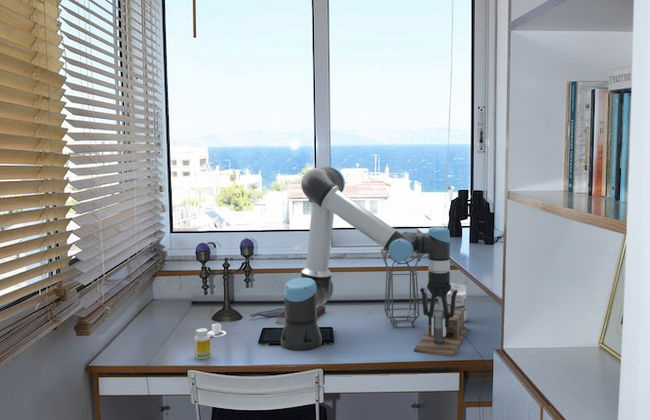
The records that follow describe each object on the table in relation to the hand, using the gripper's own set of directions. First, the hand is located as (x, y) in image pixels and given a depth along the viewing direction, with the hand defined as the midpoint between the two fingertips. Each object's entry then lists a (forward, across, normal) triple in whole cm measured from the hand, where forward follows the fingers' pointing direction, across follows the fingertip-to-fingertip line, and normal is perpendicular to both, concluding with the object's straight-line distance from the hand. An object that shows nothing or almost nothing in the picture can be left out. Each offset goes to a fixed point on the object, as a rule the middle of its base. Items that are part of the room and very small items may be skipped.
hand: (438, 334), depth 217 cm
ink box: (+4, 0, -34) cm, 34 cm away
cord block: (+3, 0, -9) cm, 10 cm away
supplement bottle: (+4, +75, +38) cm, 84 cm away
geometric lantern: (+4, +19, -21) cm, 29 cm away
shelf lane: (+4, 0, -7) cm, 8 cm away
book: (+5, +62, -18) cm, 65 cm away
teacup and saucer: (+5, +88, +15) cm, 89 cm away
